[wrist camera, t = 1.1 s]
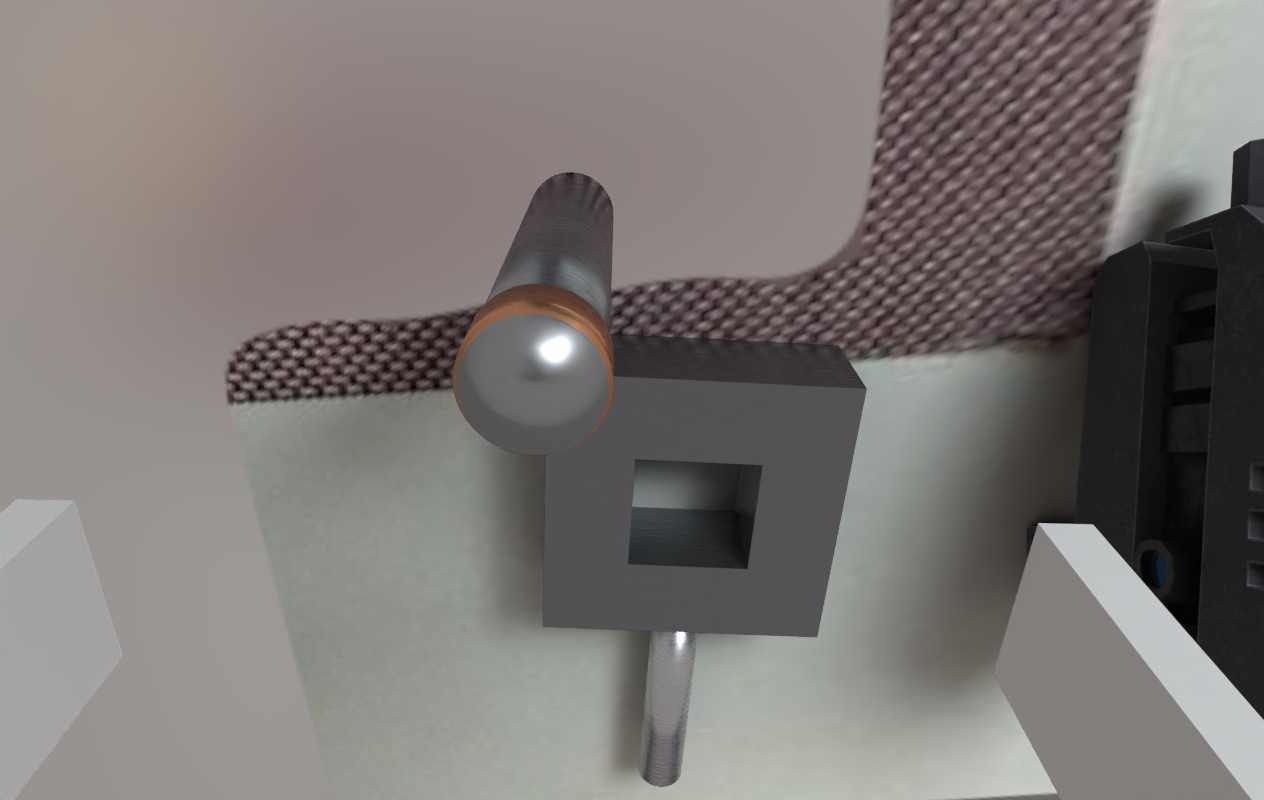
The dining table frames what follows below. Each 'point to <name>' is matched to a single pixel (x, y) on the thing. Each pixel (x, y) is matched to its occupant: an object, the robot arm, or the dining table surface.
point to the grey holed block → (700, 539)
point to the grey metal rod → (545, 327)
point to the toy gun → (1186, 423)
